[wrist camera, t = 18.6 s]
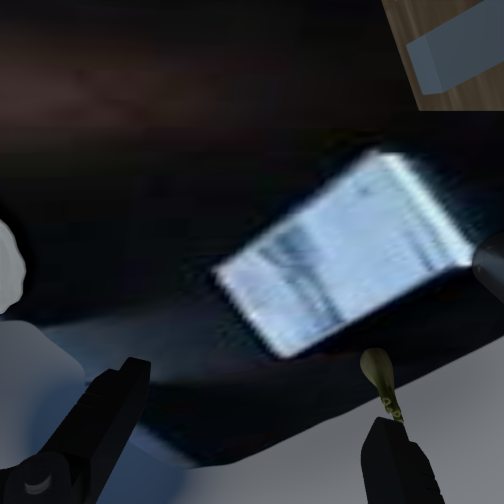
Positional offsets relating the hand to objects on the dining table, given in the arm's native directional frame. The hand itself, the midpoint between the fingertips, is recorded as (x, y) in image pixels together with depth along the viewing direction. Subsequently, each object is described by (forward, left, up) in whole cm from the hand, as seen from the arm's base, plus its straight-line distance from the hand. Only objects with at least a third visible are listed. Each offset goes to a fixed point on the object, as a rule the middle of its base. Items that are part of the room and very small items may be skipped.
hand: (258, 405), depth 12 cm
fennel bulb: (-22, +26, -40) cm, 52 cm away
